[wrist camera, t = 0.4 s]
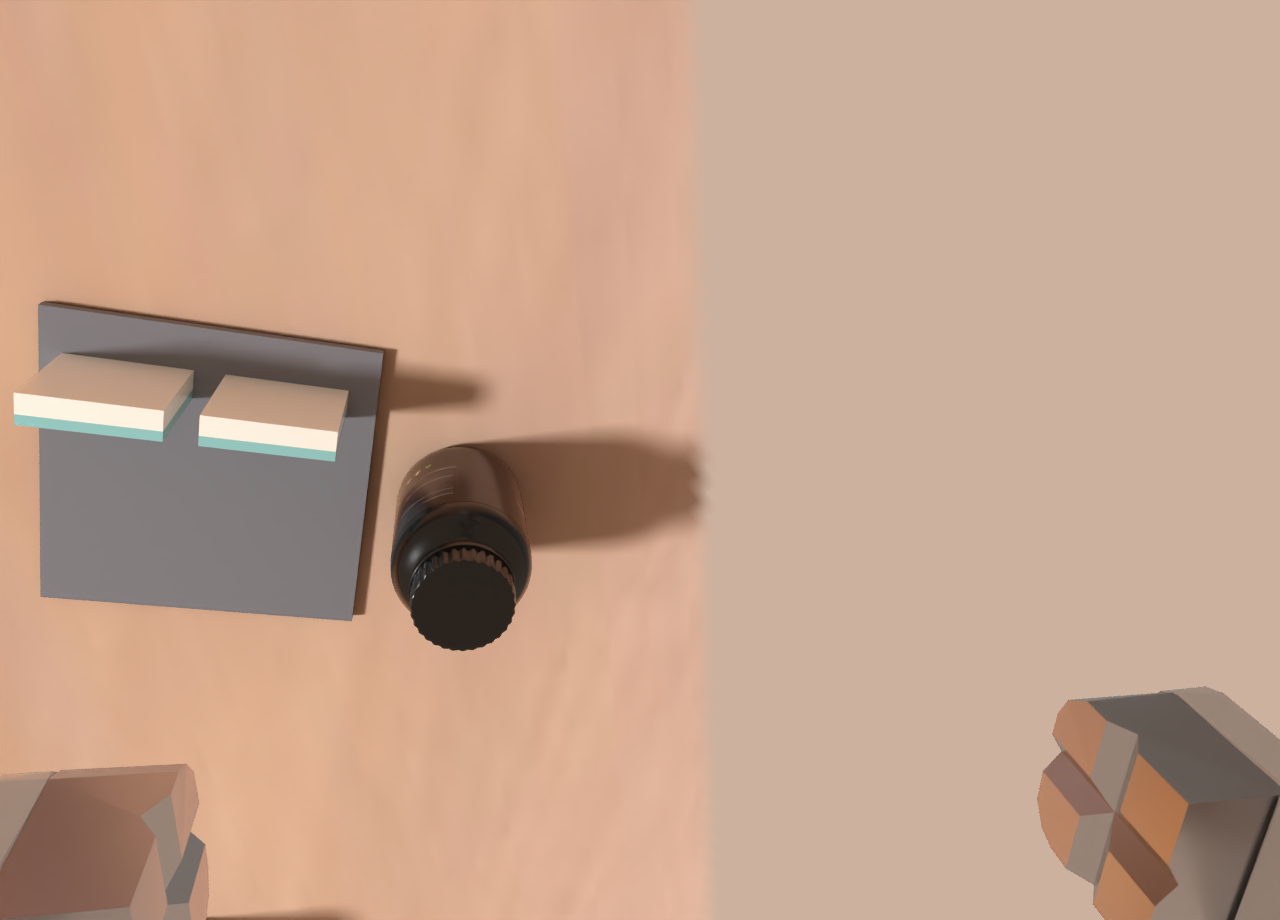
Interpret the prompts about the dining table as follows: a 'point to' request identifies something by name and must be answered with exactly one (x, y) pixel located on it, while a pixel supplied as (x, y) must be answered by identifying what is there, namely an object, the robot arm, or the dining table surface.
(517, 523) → the supplement bottle
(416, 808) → the dining table surface
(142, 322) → the mat
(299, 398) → the tile
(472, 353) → the dining table surface
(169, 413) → the tile
